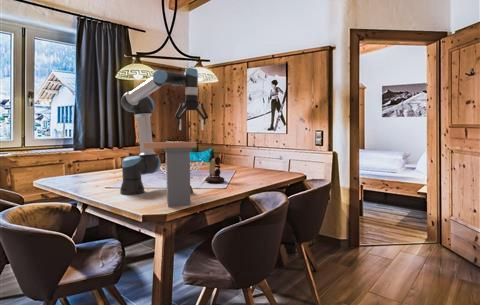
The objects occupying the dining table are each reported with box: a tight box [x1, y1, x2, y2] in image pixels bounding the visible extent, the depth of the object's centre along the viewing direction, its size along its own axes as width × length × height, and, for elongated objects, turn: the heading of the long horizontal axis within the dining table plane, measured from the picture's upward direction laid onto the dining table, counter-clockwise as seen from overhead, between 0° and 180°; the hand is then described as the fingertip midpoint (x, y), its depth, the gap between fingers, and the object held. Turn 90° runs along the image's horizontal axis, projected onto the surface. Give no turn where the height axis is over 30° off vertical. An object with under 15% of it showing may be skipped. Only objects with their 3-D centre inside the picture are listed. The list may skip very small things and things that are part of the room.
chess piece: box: [205, 155, 225, 184], centre depth 242 cm, size 15×15×20 cm
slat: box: [144, 141, 197, 149], centre depth 173 cm, size 4×28×3 cm, turn 107°
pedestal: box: [163, 148, 193, 208], centre depth 176 cm, size 12×14×32 cm
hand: (191, 130), depth 191 cm, fingers open, 13 cm apart
